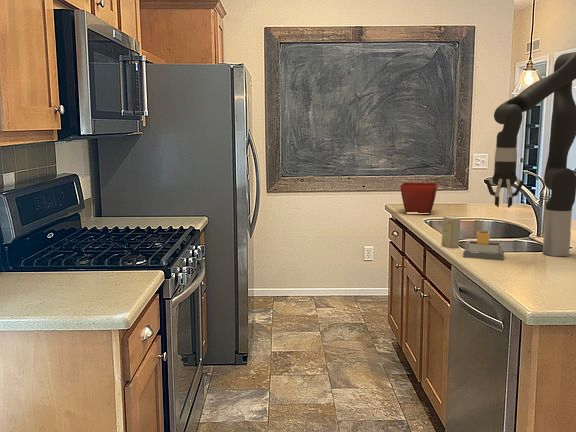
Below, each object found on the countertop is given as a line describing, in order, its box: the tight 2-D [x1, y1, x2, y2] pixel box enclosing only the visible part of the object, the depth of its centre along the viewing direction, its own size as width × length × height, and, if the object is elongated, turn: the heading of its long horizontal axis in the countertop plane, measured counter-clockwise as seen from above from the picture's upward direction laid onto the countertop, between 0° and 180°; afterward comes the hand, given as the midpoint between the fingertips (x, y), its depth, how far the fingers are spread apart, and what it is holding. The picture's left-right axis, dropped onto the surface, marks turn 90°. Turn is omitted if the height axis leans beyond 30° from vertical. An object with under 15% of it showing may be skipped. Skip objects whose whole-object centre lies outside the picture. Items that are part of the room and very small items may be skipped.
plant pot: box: [400, 182, 439, 214], centre depth 341 cm, size 19×19×17 cm
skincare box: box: [441, 215, 461, 249], centre depth 246 cm, size 6×4×12 cm
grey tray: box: [462, 240, 505, 261], centre depth 227 cm, size 14×9×5 cm, turn 67°
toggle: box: [476, 230, 490, 245], centre depth 227 cm, size 4×4×7 cm
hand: (503, 206), depth 223 cm, fingers open, 3 cm apart
